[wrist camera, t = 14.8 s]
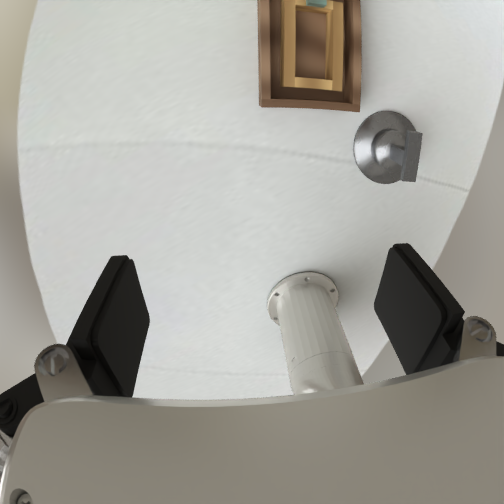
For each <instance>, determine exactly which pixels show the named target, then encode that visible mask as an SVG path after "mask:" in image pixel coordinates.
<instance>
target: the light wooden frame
mask: <svg viewBox="0 0 504 504" xmlns="http://www.w3.org/2000/svg"><path fill="white" fill-rule="evenodd" d="M295 11H304V12H312V13H320V14H326V63H325V80H324V79H314V78H302V77H295V37H296V16H295ZM342 79H343V3H341V2H336V1H330V0H281V1H280V87H299V88H313V89H324V90H333V91H342Z"/></svg>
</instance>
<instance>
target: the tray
mask: <svg viewBox="0 0 504 504" xmlns="http://www.w3.org/2000/svg"><path fill="white" fill-rule="evenodd" d="M257 1H258V57H259V106H261V107H285V108H313V109H329V110H341V111H352V112H360V97H361V10H360V0H330V1H336V2H341V3H343V79H342V91H333V90H324V89H313V88H299V87H280V1H281V0H257ZM295 16H296V37H295V77H302V78H314V79H324V80H325V63H326V14H320V13H312V12H304V11H295Z"/></svg>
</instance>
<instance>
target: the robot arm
mask: <svg viewBox="0 0 504 504" xmlns="http://www.w3.org/2000/svg"><path fill="white" fill-rule="evenodd" d="M338 298H339V296H338V291H337V288H336V286H335V284H334V283H333V281H332V280H331V279H330V278H328V277H326V276H325V275H322V274H319V273H314V272H304V273H298V274H295V275H292V276H289V277H287V278H285V279H283V280H282V281H281V282H279V283H278V284H277V285H276V286H275V287H274V288H273V290H272V291H271V293H270V294H269V297H268V301H267V308H268V313H269V316H270V317H271V319H272V320H273V321H274V322H275V323H276V324H278V325H279V326H280V329H281V335H282V340H283V346H284V351H285V357H286V362H287V368H288V373H289V379H290V384H291V389H292V391H293V393H294V395H287V396H276V397H263V398H248V399H224V400H176V399H147V398H132V396H133V392H134V387H135V383H136V378H137V373H138V369H139V365H140V360H141V356H142V352H143V348H144V343H145V339H146V335H147V331H148V328H149V323H150V318H149V313H148V310H147V307H146V303H145V300H144V297H143V293H142V290H141V286H140V283H139V279H138V276H137V272H136V268H135V264H134V261H133V260H132V259H129V258H128V256H126V255H123V256H112V257H111V258H110V259H109V261H108V263H107V265H106V266H105V268H104V270H103V272H102V274H101V276H100V277H99V279H98V281H97V283H96V285H95V287H94V289H93V290H92V292H91V294H90V296H89V298H88V300H87V302H86V304H85V306H84V308H83V310H82V312H81V314H80V316H79V318H78V320H77V322H76V324H75V326H74V328H73V331H72V333H71V335H70V337H69V339H68V342H67V344H66V345H63V344H54V345H51V346H48V347H47V348H45V349H44V350H42V352H41V353H40V354H39V355H38V357H37V358H36V361H35V365H34V368H35V374H33V375H31V376H30V377H28V378H27V379H25V380H23V381H22V382H20V383H18V384H17V385H15V386H13V387H12V388H10V389H8V390H7V391H5V392H3V393H2V394H1V395H0V504H504V345H503V344H501V343H499V342H497V341H496V332H495V330H494V328H493V326H492V325H491V324H490V323H489V322H488V321H486V320H485V319H483V318H481V317H478V316H470V317H468V318H467V319H466V320H465V321H464V320H463V318H462V317H463V314H464V313H465V311H464V310H463V309H462V307H461V306H460V305H459V303H458V302H457V301H456V299H455V298H454V297H453V296H452V294H451V293H450V292H449V290H448V289H447V288H446V287H445V285H444V284H443V283H442V282H441V280H440V279H439V278H438V277H437V276H436V274H435V273H434V272H433V271H432V269H431V268H430V267H429V266H428V265H427V264H426V262H425V261H424V260H423V259H422V258H421V257H420V255H419V254H418V253H417V252H416V251H415V250H414V249H413V247H412V246H411V245H410V244H408V243H403V244H394V245H393V247H392V248H390V249H389V252H388V256H387V260H386V263H385V267H384V271H383V275H382V278H381V282H380V285H379V289H378V292H377V295H376V299H375V302H374V309H375V312H376V314H377V316H378V318H379V320H380V322H381V323H382V325H383V327H384V329H385V331H386V333H387V335H388V337H389V339H390V341H391V343H392V345H393V348H394V350H395V352H396V354H397V356H398V358H399V360H400V362H401V364H402V366H403V369H404V371H405V373H406V375H405V376H401V377H397V378H392V379H388V380H383V381H379V382H374V383H369V384H364V383H363V380H362V378H361V375H360V373H359V370H358V367H357V365H356V362H355V359H354V356H353V354H352V351H351V348H350V346H349V343H348V340H347V338H346V335H345V332H344V330H343V327H342V325H341V322H340V320H339V317H338V314H337V312H336V309H335V308H336V306H337V303H338Z"/></svg>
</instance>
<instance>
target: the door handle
mask: <svg viewBox="0 0 504 504" xmlns="http://www.w3.org/2000/svg"><path fill="white" fill-rule="evenodd" d="M421 141H422V133H420V132H416V130H415V128H414V126H413V125H412V123H411V122H410V121H409V120H408V119H407V118H406V117H404V116H403V115H401V114H399V113H396V112H392V111H381V112H377V113H375V114H373V115H371V116H369V117H368V118H367V119H366V120H365V121H364V122H363V123H362V124H361V125H360V127H359V129H358V130H357V133H356V136H355V139H354V157H355V161H356V163H357V165H358V167H359V169H360V170H361V172H362V173H363V174H364V175H365V176H366V177H368V178H369V179H370V180H372V181H374V182H377V183H381V184H389V183H394V182H397V181H399V180H402V181H409V182H415V181H416V175H417V169H418V163H419V156H420V149H421Z"/></svg>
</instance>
